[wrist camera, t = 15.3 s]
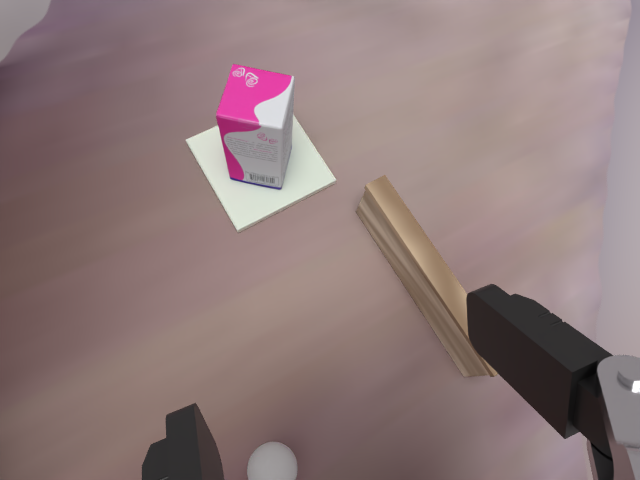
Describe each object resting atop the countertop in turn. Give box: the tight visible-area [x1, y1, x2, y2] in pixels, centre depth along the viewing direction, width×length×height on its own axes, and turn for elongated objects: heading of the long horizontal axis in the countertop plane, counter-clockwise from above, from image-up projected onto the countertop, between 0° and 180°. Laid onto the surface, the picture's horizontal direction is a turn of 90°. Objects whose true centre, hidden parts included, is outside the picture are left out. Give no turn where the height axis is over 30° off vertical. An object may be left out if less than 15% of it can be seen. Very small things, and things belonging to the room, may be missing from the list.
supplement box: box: [216, 64, 295, 190], centre depth 43 cm, size 6×6×12 cm
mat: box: [186, 115, 336, 233], centre depth 49 cm, size 12×12×1 cm
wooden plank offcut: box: [356, 175, 498, 377], centre depth 43 cm, size 2×20×7 cm, turn 31°
